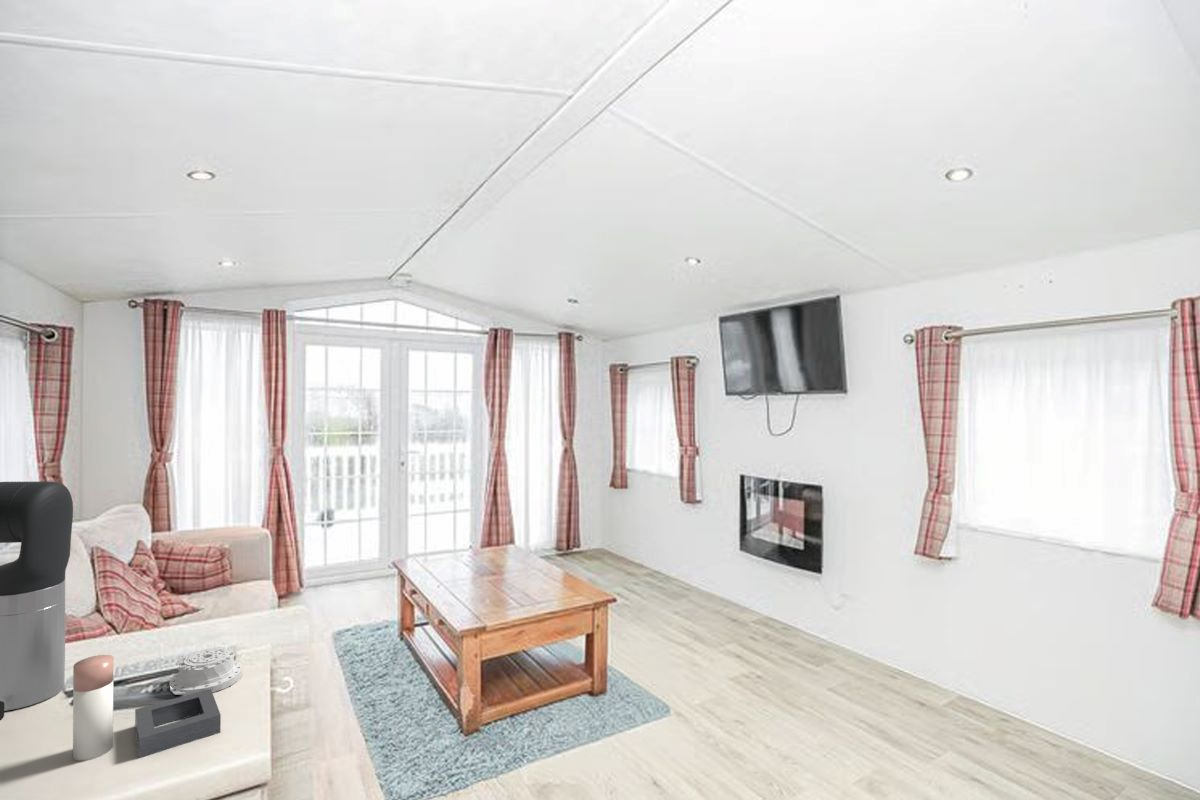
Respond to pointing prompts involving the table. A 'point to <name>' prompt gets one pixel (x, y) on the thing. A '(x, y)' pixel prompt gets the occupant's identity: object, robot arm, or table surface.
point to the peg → (92, 707)
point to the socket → (178, 731)
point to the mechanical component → (207, 671)
